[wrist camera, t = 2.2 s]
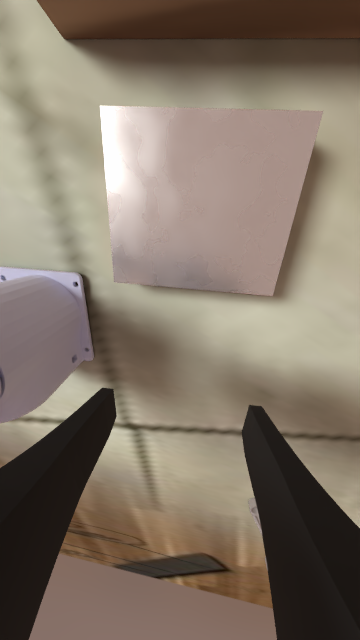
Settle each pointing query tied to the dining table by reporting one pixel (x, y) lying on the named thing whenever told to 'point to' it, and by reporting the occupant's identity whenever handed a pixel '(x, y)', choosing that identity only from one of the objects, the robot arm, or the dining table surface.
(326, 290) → the dining table surface
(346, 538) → the robot arm
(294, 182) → the plate
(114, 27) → the stop rail
